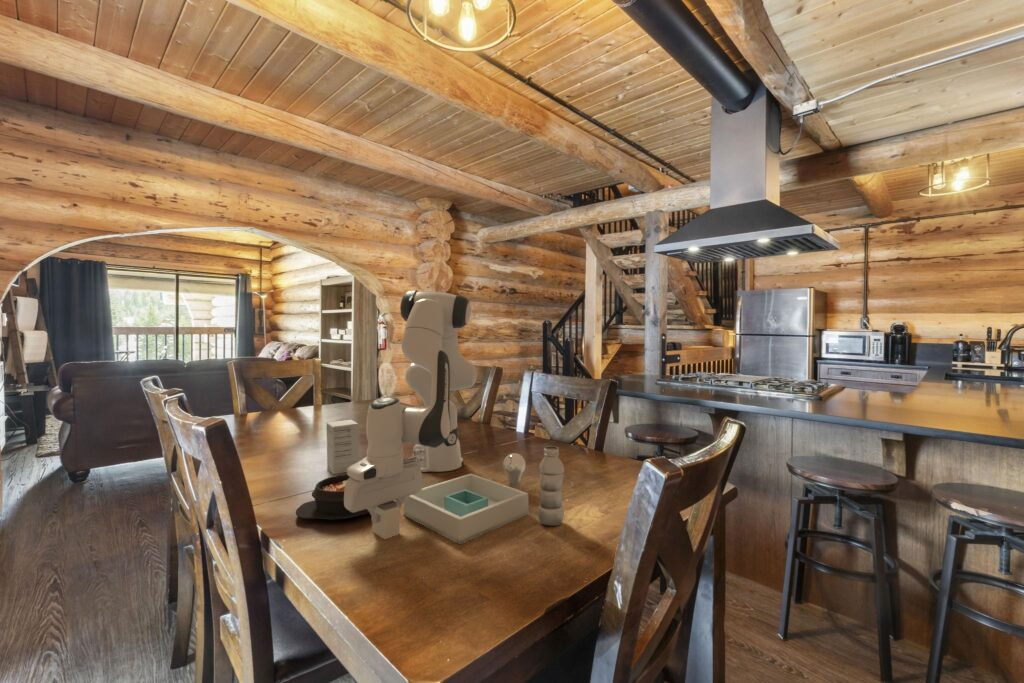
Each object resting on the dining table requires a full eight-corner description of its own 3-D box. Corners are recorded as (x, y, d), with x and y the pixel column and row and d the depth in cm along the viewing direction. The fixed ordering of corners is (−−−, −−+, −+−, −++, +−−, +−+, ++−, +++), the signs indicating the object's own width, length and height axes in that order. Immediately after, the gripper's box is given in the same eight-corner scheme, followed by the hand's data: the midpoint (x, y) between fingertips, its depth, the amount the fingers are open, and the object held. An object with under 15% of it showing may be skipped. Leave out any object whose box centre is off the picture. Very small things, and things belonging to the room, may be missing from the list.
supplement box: (359, 470, 165) (359, 423, 164) (333, 474, 160) (332, 426, 159) (352, 463, 173) (351, 419, 172) (326, 467, 167) (325, 421, 167)
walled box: (404, 515, 125) (403, 493, 125) (471, 492, 143) (471, 473, 142) (459, 544, 109) (459, 519, 108) (528, 514, 126) (528, 493, 126)
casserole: (292, 533, 115) (291, 500, 115) (298, 505, 132) (298, 477, 132) (394, 518, 124) (394, 487, 123) (388, 494, 141) (388, 467, 141)
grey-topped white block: (372, 531, 116) (372, 500, 115) (386, 526, 118) (386, 496, 118) (385, 539, 111) (384, 507, 111) (399, 534, 114) (399, 502, 114)
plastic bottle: (536, 518, 123) (536, 445, 122) (561, 518, 124) (561, 444, 123) (539, 529, 117) (540, 451, 116) (566, 528, 117) (566, 450, 117)
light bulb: (523, 496, 139) (523, 457, 139) (500, 494, 141) (500, 455, 140) (527, 488, 146) (527, 451, 146) (505, 486, 148) (505, 449, 147)
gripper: (413, 453, 124) (414, 503, 124) (340, 470, 109) (341, 527, 110) (427, 457, 119) (427, 510, 120) (352, 476, 105) (353, 536, 105)
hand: (385, 518), depth 115 cm, fingers closed on grey-topped white block, 4 cm apart
